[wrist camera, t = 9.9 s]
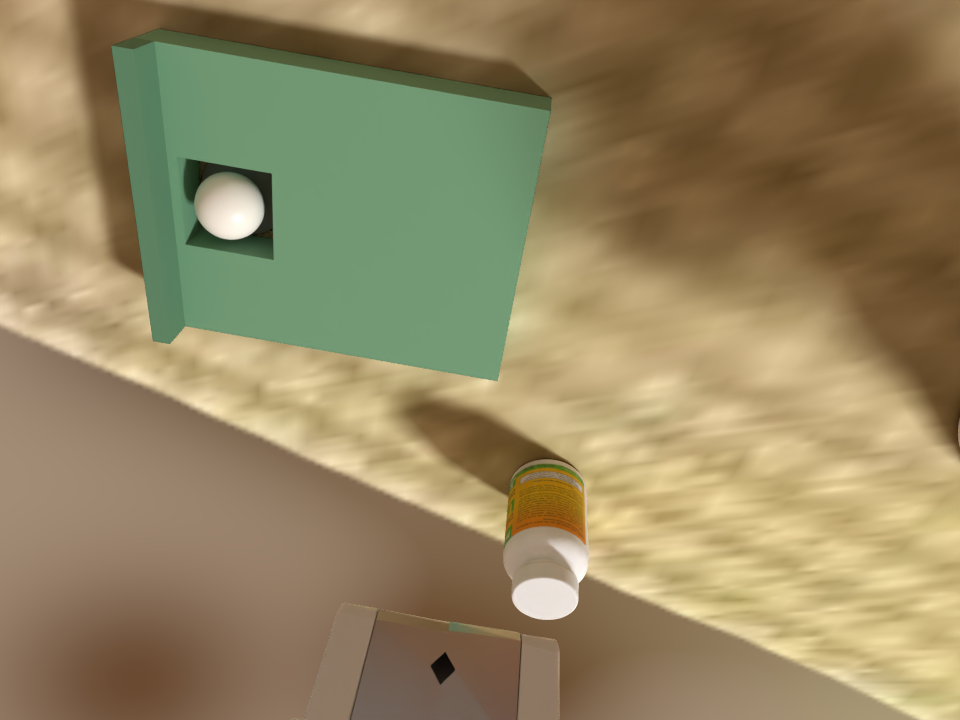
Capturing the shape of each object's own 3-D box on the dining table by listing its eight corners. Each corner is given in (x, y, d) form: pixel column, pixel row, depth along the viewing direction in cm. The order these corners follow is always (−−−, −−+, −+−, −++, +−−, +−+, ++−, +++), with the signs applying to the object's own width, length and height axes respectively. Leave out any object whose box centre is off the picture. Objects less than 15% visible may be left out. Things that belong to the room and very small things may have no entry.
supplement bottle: (502, 461, 49) (490, 573, 41) (579, 452, 48) (582, 565, 40) (518, 515, 52) (510, 630, 44) (591, 508, 51) (596, 624, 43)
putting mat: (551, 98, 36) (549, 123, 32) (500, 358, 45) (494, 401, 41) (158, 28, 36) (111, 45, 32) (187, 302, 45) (152, 340, 41)
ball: (276, 181, 37) (210, 191, 35) (277, 243, 39) (215, 256, 37) (244, 158, 39) (179, 166, 37) (246, 218, 42) (185, 229, 39)
